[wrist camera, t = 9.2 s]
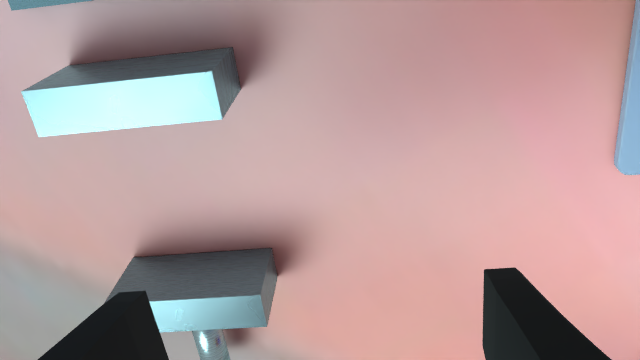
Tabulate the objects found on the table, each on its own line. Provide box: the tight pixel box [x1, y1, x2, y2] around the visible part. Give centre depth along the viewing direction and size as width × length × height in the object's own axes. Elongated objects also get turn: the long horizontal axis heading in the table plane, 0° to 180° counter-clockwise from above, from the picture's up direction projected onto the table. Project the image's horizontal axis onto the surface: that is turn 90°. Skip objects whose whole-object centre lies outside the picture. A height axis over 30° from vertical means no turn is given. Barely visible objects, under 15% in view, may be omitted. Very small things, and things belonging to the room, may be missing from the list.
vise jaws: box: [22, 47, 277, 360], centre depth 20 cm, size 6×14×3 cm, turn 7°
